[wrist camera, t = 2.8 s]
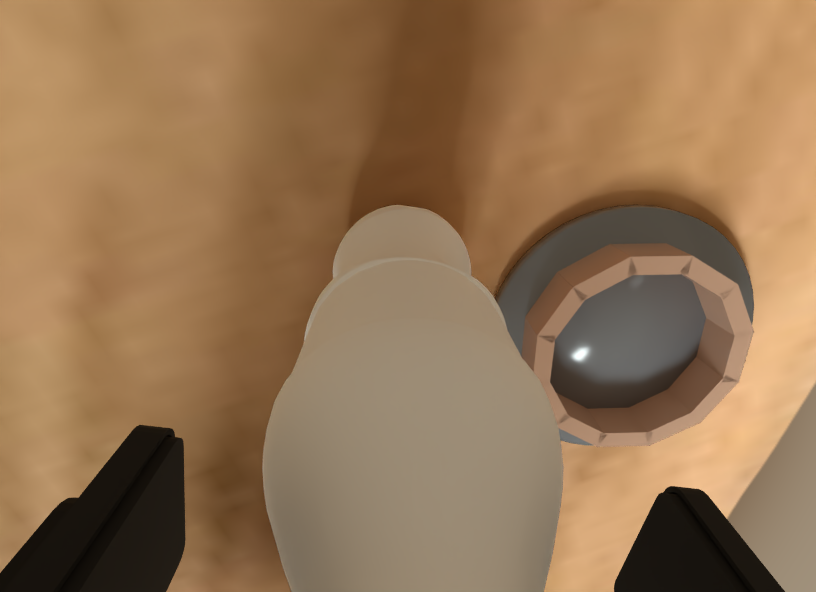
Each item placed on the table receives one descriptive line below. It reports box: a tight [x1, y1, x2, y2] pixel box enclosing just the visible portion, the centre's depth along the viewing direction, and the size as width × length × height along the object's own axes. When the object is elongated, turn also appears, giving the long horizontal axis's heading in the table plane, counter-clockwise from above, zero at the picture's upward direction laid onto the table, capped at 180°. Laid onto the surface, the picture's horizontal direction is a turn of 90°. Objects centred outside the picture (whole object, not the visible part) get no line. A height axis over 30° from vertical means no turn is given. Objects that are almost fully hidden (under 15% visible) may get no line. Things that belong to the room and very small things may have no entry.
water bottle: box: [262, 205, 563, 592], centre depth 15 cm, size 7×7×25 cm
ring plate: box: [495, 205, 754, 447], centre depth 27 cm, size 16×16×4 cm
